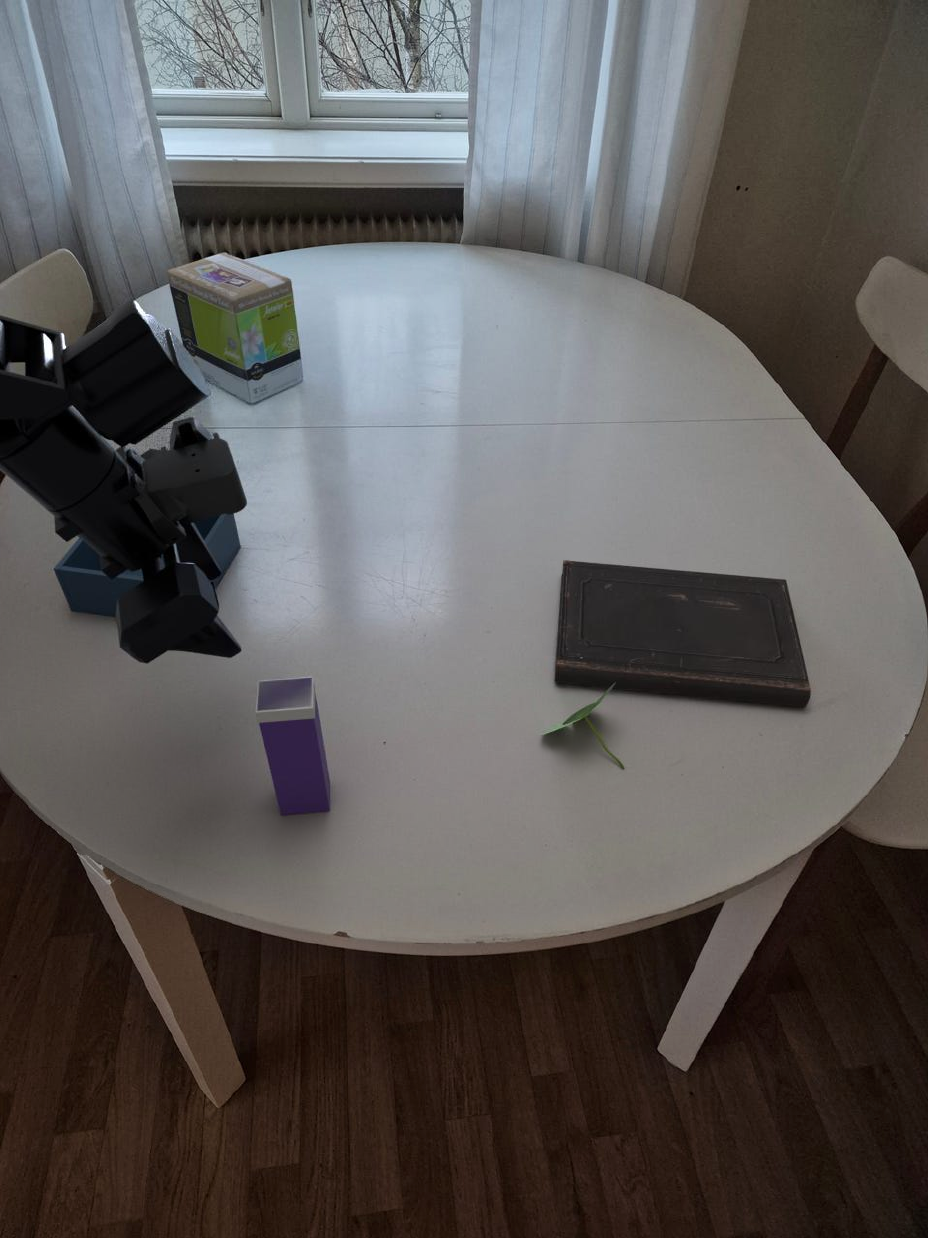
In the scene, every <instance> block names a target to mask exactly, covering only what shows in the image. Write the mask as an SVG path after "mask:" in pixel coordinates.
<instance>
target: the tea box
mask: <svg viewBox="0 0 928 1238" xmlns="http://www.w3.org/2000/svg"><path fill="white" fill-rule="evenodd" d="M166 274H167V279H168V284H169V285H168V286H169V290H170V295H171V298H172V302H173V307H174V312H175V316H176V320H177V325H178V330H179V335H180V339H181V343H182V344H183V346H184V347H185V349H186V350H187V351H188V353H189V354H190V356H191V357H192V359H193V360H194V362H195V363H196V365H197V366H198V368H199V370H200V371H201V373H202V375H203V376H204V378H205V380H206V381H208V382H210V383H212V384H214V385H216V386H217V387H220V388H221V389H223V390H225V391H227V392H228V393H231V395H232V394H233V395H234V396H236V397H238V398H239V399H242V400H243V401H246V402H247V403H249V404H255V403H257V402H259V401H261V400H264V399H267V398H269V397H271V396H273V395H275V394H277V393H280V392H282V391H284V390H286V389H289V388H291V387H293V386H295V385H297V384H299V383H301V382H303V381H304V371H303V363H302V362H303V361H302V355H301V354H302V353H301V346H300V345H301V344H300V338H299V332H298V321H297V313H296V307H295V298H294V290H293V284H292V283H293V282H292V279H291V278H289V277H288V276H285V275H282V274H280V273H277V272H275V271H272V270H269V269H267V268H265V267H261V266H260V265H257V264H254V263H252V262H250V261H248V260H244V259H242V258H239V257H236V256H234V255H231V254H229V253H227V252H226V251H225V252H224V251H223V252H220V253H217V254H214V255H212V256H211V255H210V256H208V257H204V258H202V259H198V260H195V261H193V262H190V263H187V264H183V265H180V266H177V267H173V268H170V269H168V270H166Z"/></svg>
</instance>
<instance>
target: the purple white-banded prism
mask: <svg viewBox="0 0 928 1238" xmlns="http://www.w3.org/2000/svg"><path fill="white" fill-rule="evenodd" d="M318 706H319V705H318V700H317V694H316V682H315V678H314V676H305V677H304V676H303V677H291V678H290V677H289V678H278V679H277V678H276V679H265V680H258V681H257V686H256V697H255V710H254V712H255V717H256V721H257V723H258V725H259V730H260V734H261V738H262V743H263V746H264V750H265V751H264V752H265V756H266V760H267V763H268V767H269V772H270V776H271V780H272V784H273V788H274V793H275V797H276V801H277V805H278V809H279V813H280V816H290V815H291V816H292V815H300V814H301V815H302V814H313V813H320V812H321V813H323V812H330V811H331V780H330V774H329V767H328V760H327V755H326V749H325V748H326V747H325V743H324V736H323V731H322V730H323V729H322V726H321V725H322V724H321V718H320V713H319V712H320V711H319V707H318Z"/></svg>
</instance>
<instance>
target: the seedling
mask: <svg viewBox="0 0 928 1238" xmlns="http://www.w3.org/2000/svg"><path fill="white" fill-rule="evenodd" d="M614 685H615V683H614V684H613V685H612V686H611V687H610V688H608V689H607V690H606V691H605V692H604V693H603V694H602V695H601V697H599V699H598V700H597V701H595V702H592V703H591V704H589V705H586V706H584V707H583V708H581V709H579V710H577V711H576V712H574V713H572V714H571V716H569V717H567V718H566V720H564V722H560V723H558V724H556V725H554V726H553V727H550V728H549V729H546V730H544V731H543V732H541V733H540V734H539V735H541V736H542V735H547V734H549V733H552V732H555V731H557V730H560V729H562V728H564V727H567V726H570V725H572V724H573V723H575V722H577V721H580V720H582V719H585V721H586V722H587V724H588V725H589V726H590V728H591V729H592V732H594V734H595V735H596V737H597V738H598V741H599V742H600V743H601V746H602V748H603V749H604V750H605V752H606V753H607V754H608V755H610V757H611V758H613V760H615V761H616V762H617V764H618V765H619V766H620V767H621V769H622V770H624V769H625V766H624V764H623V763H622V762H621V760H620V759H619V758H618V757H617V756H616V755H615V754H613V753H612V752H611V751H610V750H609V748H608V747H607V746H606V744H605V743H604V741H603V738H602V737H601V735H600V733H599V732H598V731H597V729H596V728H595V726H594V725H593V723H592V722H591V721H590V719H589V718H588V717H587V716H589V714H590V713H591V712H592V711H594V710H595V709H596V708H597V707H599V705H601V704H602V702H603V699H604V698H605V697H606V696H607V695H608V694H609V692H611V690H612V689H614V688H613V686H614Z"/></svg>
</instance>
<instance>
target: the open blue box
mask: <svg viewBox="0 0 928 1238" xmlns="http://www.w3.org/2000/svg"><path fill="white" fill-rule="evenodd" d="M234 514H235V513H234ZM234 514H231V515H228V514H222V515H219V516H215V517H212V518H208V519H205V520H201V521H198V522H194V524H195V526H196V528H197V529H198V531H199V533H200V535H201V536H202V538H203V540H204V542H205V543H206V545H207V547H208V549H209V550H210V552H211V554H212V556H213V557H214V559H215V561H216V563H217V564H218V566H219V568H220V569H221V573H222V574H221V575H220V576H219V577H217V578H216V579H214V580H209V582H210V583H211V582H214V585H215V589H216V590H217V588H218V586H219V585H220V583H221V581H222V579H223V578H224V576H225V574H226V573H227V571H228V569H229V568H230V566H231V564H232V562H233V561H234V559H235V557H236V556H237V554H238V553H239V551H240V549H241V548H242V547H241V541H240V537H239V532H238V527H237V523H236V518H235V515H234ZM53 571H54V574H55V576H56V578H57V581H58V583H59V585H60V588H61V590H62V593H63V595H64V598H65V600H66V602H67V605H68V607H69V610H70V611H71V612H79V613H86V614H92V615H99V616H106V617H114V618H116V607H117V598H118V597H120V596H122V595H123V594H125V593H126V592H128V591H129V590H131V589H132V588H134V587H135V586H137V585H139V584H140V583H142V582H143V581H144V580H143V574H142V569H140V570H137V571H134V572H130V571H129V570H126V571H125V572H123V573H122V574H120V575H118V576H117V577H115V578H114V579H112V580H111V579H110V578H109V577H108V576H107V575H105V574H104V573H103V572H102V571H101V563H100V555H99V554H98V553H97V552H96V551H95V550H93V549H92V548H91V547H90V546H89V545H88V544H86V543H85V542H84V541H83V540H82V539H80V538H79V537H78V538H77V540H76V541H74V543H73V545H72V546H71V547H70V548H69V549H68V551H67V552H66V553H65V554H64V555H63V557H61V559H60V560H59V561H58V563H57V564H56V565H55V566H54V567H53Z"/></svg>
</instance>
